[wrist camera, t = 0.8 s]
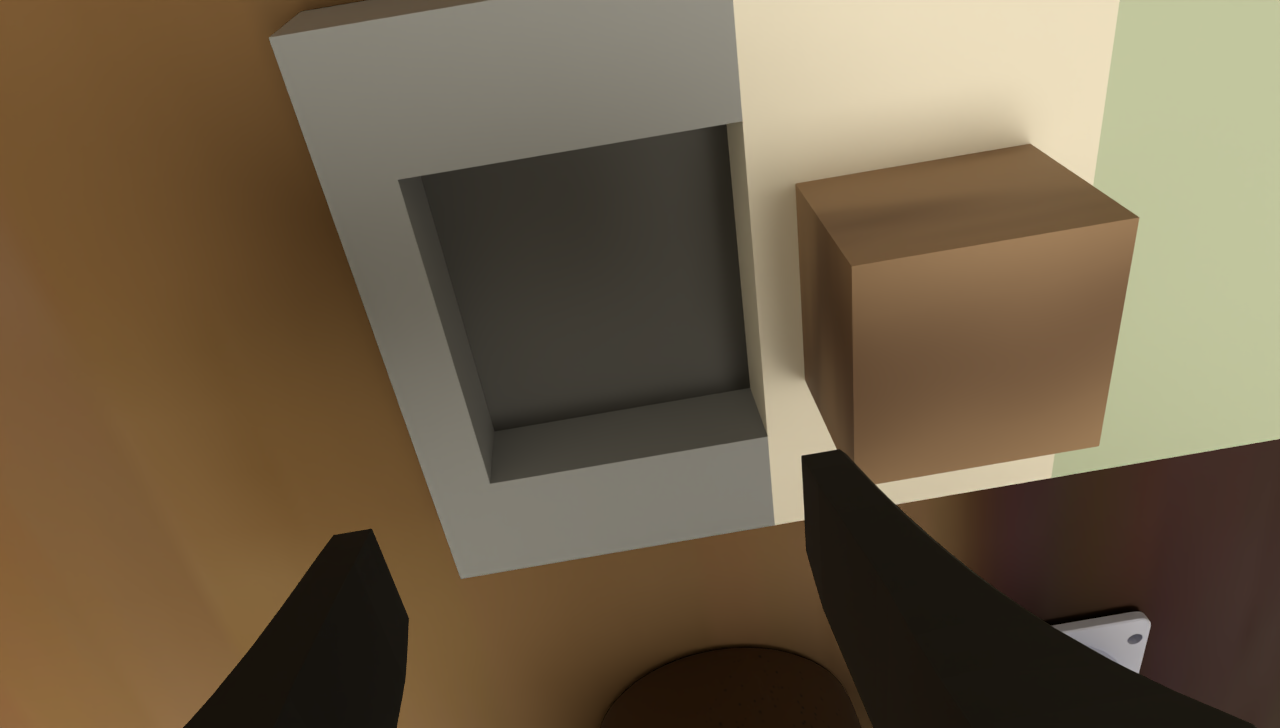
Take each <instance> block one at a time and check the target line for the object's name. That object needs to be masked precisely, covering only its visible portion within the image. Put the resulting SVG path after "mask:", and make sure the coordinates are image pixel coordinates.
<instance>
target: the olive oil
mask: <svg viewBox="0 0 1280 728" xmlns="http://www.w3.org/2000/svg"><path fill="white" fill-rule="evenodd" d="M600 728H861V726H860V723H859V720H858V718H857V715H856V713H855V710H854V708H853V705H852V703H851V701H850V698H849V696H848V694H847V693H846V691H845V689H844V688H843V686H842V685H841V683H840V682H839V681H838V680H837V679H836V678H835V677H834V676H833V675H832V674H831V673H830V672H828V671H827V670H826V669H824V668H823V667H821V666H819V665H818V664H816V663H814V662H812V661H810V660H808V659H805V658H803V657H800V656H797V655H794V654H790V653H787V652H782V651H777V650H771V649H763V648H730V649H721V650H714V651H709V652H704V653H699V654H696V655H692V656H689V657H685V658H682V659H679V660H677V661H674V662H672V663H669V664H667V665H665V666H663V667H660V668H658V669H657V670H655V671H653V672H651V673H649V674H648V675H646V676H644V677H643V678H641V679H640V680H639V681H637V682H636V683H634V684H633V685H632V686H631V687H630V688H628V689H627V690H626V691H625V692H624V693H623V694H622V695H621V696H620V697H619V698H618V699H617V700H616V701H615V703H614V704H613V705H612V706H611V708H610V709H609V711H608V712H607V714H606V716H605V718H604V720H603V722H602V724H601V727H600Z"/></svg>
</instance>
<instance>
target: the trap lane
mask: <svg viewBox="0 0 1280 728" xmlns="http://www.w3.org/2000/svg"><path fill="white" fill-rule="evenodd" d="M269 40H270V43H271V46H272V48H273V51H274V54H275V57H276V60H277V62H278V65H279V68H280V71H281V74H282V77H283V79H284V82H285V85H286V88H287V91H288V93H289V96H290V99H291V102H292V105H293V108H294V110H295V113H296V116H297V119H298V122H299V124H300V127H301V130H302V133H303V136H304V139H305V141H306V144H307V147H308V150H309V153H310V155H311V158H312V161H313V164H314V167H315V170H316V172H317V175H318V178H319V181H320V184H321V186H322V189H323V192H324V195H325V198H326V201H327V203H328V206H329V209H330V212H331V215H332V217H333V220H334V223H335V226H336V229H337V232H338V234H339V237H340V240H341V243H342V246H343V248H344V251H345V254H346V257H347V260H348V262H349V265H350V268H351V271H352V274H353V277H354V279H355V282H356V285H357V288H358V291H359V293H360V296H361V299H362V302H363V305H364V308H365V310H366V313H367V316H368V319H369V322H370V324H371V327H372V330H373V333H374V336H375V339H376V341H377V344H378V347H379V350H380V353H381V355H382V358H383V361H384V364H385V367H386V370H387V372H388V375H389V378H390V381H391V384H392V386H393V389H394V392H395V395H396V398H397V401H398V403H399V406H400V409H401V412H402V415H403V417H404V420H405V423H406V426H407V429H408V432H409V434H410V437H411V440H412V443H413V446H414V448H415V451H416V454H417V457H418V460H419V463H420V465H421V468H422V471H423V474H424V477H425V479H426V482H427V485H428V488H429V491H430V494H431V496H432V499H433V502H434V505H435V508H436V510H437V513H438V516H439V519H440V522H441V524H442V527H443V530H444V533H445V536H446V539H447V541H448V544H449V547H450V550H451V553H452V555H453V558H454V561H455V564H456V567H457V570H458V572H459V575H460V578H461V579H463V578H469V577H475V576H481V575H486V574H492V573H498V572H504V571H510V570H516V569H521V568H527V567H533V566H539V565H545V564H551V563H557V562H562V561H568V560H574V559H580V558H586V557H592V556H598V555H603V554H609V553H615V552H621V551H627V550H633V549H638V548H644V547H650V546H656V545H662V544H668V543H674V542H679V541H685V540H691V539H697V538H703V537H709V536H714V535H720V534H726V533H732V532H738V531H744V530H750V529H755V528H761V527H767V526H773V525H779V524H785V523H790V522H796V521H802V520H805V519H804V500H803V481H802V463H801V456H802V455H808V454H814V453H820V452H826V451H831V450H837V449H836V447H835V444H834V442H833V440H832V438H831V436H830V434H829V431H828V429H827V427H826V425H825V423H824V421H823V418H822V416H821V414H820V412H819V410H818V408H817V405H816V403H815V401H814V399H813V397H812V395H811V392H810V390H809V388H808V386H807V384H806V382H805V373H804V352H803V332H802V311H801V291H800V270H799V250H798V229H797V209H796V188H795V184H796V183H802V182H807V181H813V180H819V179H825V178H831V177H837V176H843V175H849V174H855V173H860V172H866V171H872V170H878V169H884V168H890V167H896V166H902V165H908V164H913V163H919V162H925V161H931V160H937V159H943V158H949V157H955V156H960V155H966V154H972V153H978V152H984V151H990V150H996V149H1002V148H1008V147H1013V146H1019V145H1025V144H1032V145H1033V146H1035V147H1036V148H1038V149H1039V150H1041V151H1042V152H1044V153H1045V154H1047V155H1048V156H1049V157H1051V158H1052V159H1054V160H1055V161H1057V162H1058V163H1060V164H1061V165H1063V166H1064V167H1066V168H1067V169H1069V170H1070V171H1072V172H1073V173H1075V174H1076V175H1078V176H1079V177H1081V178H1082V179H1083V180H1085V181H1086V182H1088V183H1089V184H1091V185H1092V186H1094V187H1095V188H1097V189H1098V190H1100V191H1101V192H1103V193H1104V194H1106V195H1107V196H1109V197H1110V198H1112V199H1113V200H1115V201H1116V202H1118V203H1119V204H1120V205H1122V206H1123V207H1125V208H1126V209H1128V210H1129V211H1131V212H1132V213H1134V214H1135V215H1137V216H1138V217H1140V218H1139V223H1138V229H1137V235H1136V240H1135V246H1134V252H1133V257H1132V263H1131V269H1130V274H1129V280H1128V285H1127V291H1126V297H1125V302H1124V308H1123V314H1122V319H1121V325H1120V331H1119V336H1118V342H1117V348H1116V353H1115V359H1114V365H1113V370H1112V376H1111V382H1110V387H1109V393H1108V398H1107V404H1106V410H1105V415H1104V421H1103V427H1102V432H1101V438H1100V444H1099V446H1097V447H1091V448H1086V449H1080V450H1074V451H1068V452H1062V453H1056V454H1051V455H1045V456H1039V457H1033V458H1027V459H1021V460H1015V461H1010V462H1004V463H998V464H992V465H986V466H980V467H974V468H969V469H963V470H957V471H951V472H945V473H939V474H933V475H928V476H922V477H916V478H910V479H904V480H898V481H893V482H887V483H881V484H875V485H876V486H877V487H878V488H879V489H880V490H881V491H882V492H883V493H884V494H885V495H886V496H887V497H888V498H889V499H890V500H891V501H892V502H893V503H894V504H895V505H896V504H902V503H907V502H913V501H919V500H925V499H931V498H937V497H943V496H948V495H954V494H960V493H966V492H972V491H978V490H983V489H989V488H995V487H1001V486H1007V485H1013V484H1019V483H1024V482H1030V481H1036V480H1042V479H1048V478H1054V477H1060V476H1065V475H1071V474H1077V473H1083V472H1089V471H1095V470H1100V469H1106V468H1112V467H1118V466H1124V465H1130V464H1136V463H1141V462H1147V461H1153V460H1159V459H1165V458H1171V457H1176V456H1182V455H1188V454H1194V453H1200V452H1206V451H1212V450H1217V449H1223V448H1229V447H1235V446H1241V445H1247V444H1252V443H1258V442H1264V441H1270V440H1276V439H1280V0H366V1H361V2H355V3H349V4H343V5H337V6H331V7H325V8H319V9H313V10H307V11H301V12H300V13H298V14H297V15H296V16H295V17H294V18H292V19H291V20H290V21H289V22H287V23H286V24H285V25H284V26H282V27H281V28H280V29H279V30H277V31H276V32H275V33H274V34H273V35H271V36H270V37H269Z"/></svg>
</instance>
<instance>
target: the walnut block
mask: <svg viewBox="0 0 1280 728" xmlns="http://www.w3.org/2000/svg"><path fill="white" fill-rule="evenodd" d="M795 188H796V209H797V229H798V250H799V270H800V291H801V311H802V332H803V352H804V373H805V382H806V384H807V386H808V388H809V390H810V392H811V395H812V397H813V399H814V401H815V403H816V405H817V408H818V410H819V412H820V414H821V416H822V418H823V421H824V423H825V425H826V427H827V429H828V431H829V434H830V436H831V438H832V440H833V442H834V444H835V447H836V449H840V450H842V451H843V452H844V453H846V454H847V455H848V456H849V457H850V458H851V459H852V461H853V462H854V463H855V464H856V465H857V466H858V467H859V468H860V469H861V470H862V471H863V472H864V473H865V474H866V475H867V477H868V478H869V479H870V480H871V481H872V482H873V483H874V484H881V483H887V482H893V481H898V480H904V479H910V478H916V477H922V476H928V475H933V474H939V473H945V472H951V471H957V470H963V469H969V468H974V467H980V466H986V465H992V464H998V463H1004V462H1010V461H1015V460H1021V459H1027V458H1033V457H1039V456H1045V455H1051V454H1056V453H1062V452H1068V451H1074V450H1080V449H1086V448H1091V447H1097V446H1099V444H1100V438H1101V432H1102V427H1103V421H1104V415H1105V410H1106V404H1107V398H1108V393H1109V387H1110V382H1111V376H1112V370H1113V365H1114V359H1115V353H1116V348H1117V342H1118V336H1119V331H1120V325H1121V319H1122V314H1123V308H1124V302H1125V297H1126V291H1127V285H1128V280H1129V274H1130V269H1131V263H1132V257H1133V252H1134V246H1135V240H1136V235H1137V229H1138V223H1139V218H1140V217H1138V216H1137V215H1135V214H1134V213H1132V212H1131V211H1129V210H1128V209H1126V208H1125V207H1123V206H1122V205H1120V204H1119V203H1118V202H1116V201H1115V200H1113V199H1112V198H1110V197H1109V196H1107V195H1106V194H1104V193H1103V192H1101V191H1100V190H1098V189H1097V188H1095V187H1094V186H1092V185H1091V184H1089V183H1088V182H1086V181H1085V180H1083V179H1082V178H1081V177H1079V176H1078V175H1076V174H1075V173H1073V172H1072V171H1070V170H1069V169H1067V168H1066V167H1064V166H1063V165H1061V164H1060V163H1058V162H1057V161H1055V160H1054V159H1052V158H1051V157H1049V156H1048V155H1047V154H1045V153H1044V152H1042V151H1041V150H1039V149H1038V148H1036V147H1035V146H1033V145H1032V144H1025V145H1019V146H1013V147H1008V148H1002V149H996V150H990V151H984V152H978V153H972V154H966V155H960V156H955V157H949V158H943V159H937V160H931V161H925V162H919V163H913V164H908V165H902V166H896V167H890V168H884V169H878V170H872V171H866V172H860V173H855V174H849V175H843V176H837V177H831V178H825V179H819V180H813V181H807V182H802V183H796V184H795Z"/></svg>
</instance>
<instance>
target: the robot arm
mask: <svg viewBox="0 0 1280 728" xmlns="http://www.w3.org/2000/svg"><path fill="white" fill-rule="evenodd" d="M801 463H802V481H803V500H804V519H805V537H806V551H807V555H808V558H809V562H810V566H811V569H812V573H813V576H814V580H815V583H816V586H817V590H818V593H819V596H820V600H821V603H822V606H823V609H824V612H825V614H826V617H827V619H828V622H829V624H830V626H831V629H832V631H833V633H834V636H835V638H836V641H837V643H838V645H839V648H840V650H841V653H842V655H843V657H844V660H845V662H846V664H847V667H848V669H849V671H850V674H851V676H852V678H853V681H854V683H855V685H856V688H857V690H858V692H859V695H860V697H861V700H862V702H863V704H864V707H865V709H866V711H867V714H868V716H869V718H870V721H871V723H872V725H873V728H1256V727H1255V726H1254V725H1253V724H1251V723H1249V722H1246V721H1244V720H1242V719H1239V718H1237V717H1235V716H1232V715H1230V714H1227V713H1225V712H1223V711H1220V710H1218V709H1216V708H1213V707H1211V706H1209V705H1206V704H1204V703H1202V702H1199V701H1197V700H1194V699H1192V698H1190V697H1187V696H1185V695H1183V694H1180V693H1178V692H1176V691H1173V690H1171V689H1169V688H1167V687H1165V686H1163V685H1161V684H1159V683H1157V682H1154V681H1152V680H1150V679H1148V678H1146V677H1144V676H1142V675H1140V674H1139V671H1140V667H1141V663H1142V659H1143V655H1144V651H1145V647H1146V643H1147V639H1148V635H1149V631H1150V627H1151V622H1150V621H1149V619H1148V618H1147V617H1146V615H1145V614H1144V613H1142V612H1138V611H1137V612H1128V613H1122V614H1116V615H1110V616H1104V617H1099V618H1093V619H1087V620H1081V621H1075V622H1069V623H1064V624H1058V625H1052V626H1051V625H1049V624H1048V623H1046V622H1045V621H1043V620H1041V619H1040V618H1038V617H1037V616H1035V615H1034V614H1032V613H1030V612H1029V611H1027V610H1026V609H1024V608H1023V607H1021V606H1020V605H1019V604H1017V603H1016V602H1014V601H1013V600H1011V599H1010V598H1008V597H1007V596H1005V595H1004V594H1003V593H1001V592H1000V591H998V590H997V589H996V588H994V587H993V586H992V585H990V584H989V583H987V582H986V581H985V580H983V579H982V578H981V577H980V576H978V575H977V574H976V573H974V572H973V571H972V570H970V569H969V568H968V567H967V566H965V565H964V564H963V563H962V562H960V561H959V560H958V559H957V558H955V557H954V556H953V555H952V554H950V553H949V552H948V551H947V550H946V549H945V548H943V547H942V546H941V545H940V544H939V543H937V542H936V541H935V540H934V539H933V538H932V537H931V536H929V535H928V534H927V533H926V532H925V531H924V530H923V529H922V528H921V527H919V526H918V525H917V524H916V523H915V522H914V521H913V520H912V519H911V518H909V517H908V516H907V515H906V514H905V513H904V512H903V511H902V510H901V509H900V508H899V507H898V506H897V505H895V504H894V503H893V502H892V501H891V500H890V499H889V498H888V497H887V496H886V495H885V494H884V493H883V492H882V491H881V490H880V489H879V488H878V487H877V486H876V485H875V484H874V483H873V482H872V481H871V480H870V479H869V478H868V477H867V475H866V474H865V473H864V472H863V471H862V470H861V469H860V468H859V467H858V466H857V465H856V464H855V463H854V462H853V461H852V459H851V458H850V457H849V456H848V455H847V454H846V453H844V452H843V451H842V450H840V449H837V450H831V451H826V452H820V453H814V454H808V455H802V456H801ZM408 624H409V618H408V615H407V613H406V610H405V608H404V605H403V603H402V601H401V598H400V596H399V593H398V591H397V588H396V586H395V584H394V581H393V579H392V576H391V574H390V572H389V569H388V567H387V564H386V562H385V559H384V557H383V555H382V552H381V550H380V547H379V545H378V542H377V540H376V538H375V535H374V533H373V530H372V529H367V530H361V531H355V532H350V533H344V534H338V535H333V537H332V538H331V539H330V541H329V542H328V543H327V545H326V546H325V547H324V549H323V550H322V551H321V553H320V554H319V555H318V557H317V558H316V560H315V561H314V562H313V564H312V565H311V567H310V568H309V569H308V571H307V572H306V574H305V575H304V576H303V578H302V579H301V581H300V582H299V583H298V585H297V586H296V588H295V589H294V590H293V592H292V593H291V595H290V596H289V597H288V599H287V600H286V601H285V603H284V604H283V606H282V607H281V608H280V610H279V611H278V612H277V614H276V615H275V616H274V618H273V619H272V620H271V622H270V623H269V624H268V626H267V627H266V628H265V630H264V631H263V632H262V634H261V635H260V636H259V638H258V639H257V640H256V642H255V643H254V644H253V646H252V647H251V648H250V650H249V651H248V652H247V653H246V655H245V656H244V657H243V658H242V659H241V661H240V662H239V663H238V664H237V666H236V667H235V668H234V669H233V671H232V672H231V673H230V674H229V675H228V677H227V678H226V679H225V680H224V682H223V683H222V684H221V685H220V686H219V688H218V689H217V690H216V691H215V693H214V694H213V695H212V696H211V697H210V698H209V700H208V701H207V702H206V703H205V704H204V705H203V706H202V708H201V709H200V710H199V711H198V712H197V713H196V714H195V715H194V716H193V718H192V719H191V720H190V721H189V722H188V723H187V724H186V725H185V726H184V727H183V728H397V723H398V717H399V712H400V707H401V701H402V696H403V690H404V684H405V677H406V663H407V646H408Z"/></svg>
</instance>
